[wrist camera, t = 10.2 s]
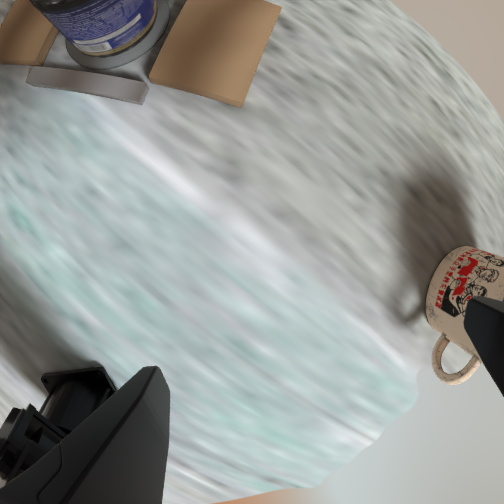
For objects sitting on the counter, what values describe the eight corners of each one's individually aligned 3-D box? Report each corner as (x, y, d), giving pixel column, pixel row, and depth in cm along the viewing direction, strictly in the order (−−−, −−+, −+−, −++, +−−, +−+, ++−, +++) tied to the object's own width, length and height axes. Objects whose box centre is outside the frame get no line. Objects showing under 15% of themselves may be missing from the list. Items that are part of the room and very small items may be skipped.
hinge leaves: (284, 0, 16) (288, -8, 15) (232, 130, 18) (234, 127, 17) (45, -30, 11) (41, -36, 10) (-17, 82, 13) (-25, 79, 12)
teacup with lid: (462, 222, 22) (567, 250, 11) (490, 280, 25) (571, 317, 14) (384, 326, 23) (477, 405, 12) (424, 369, 26) (496, 434, 14)
